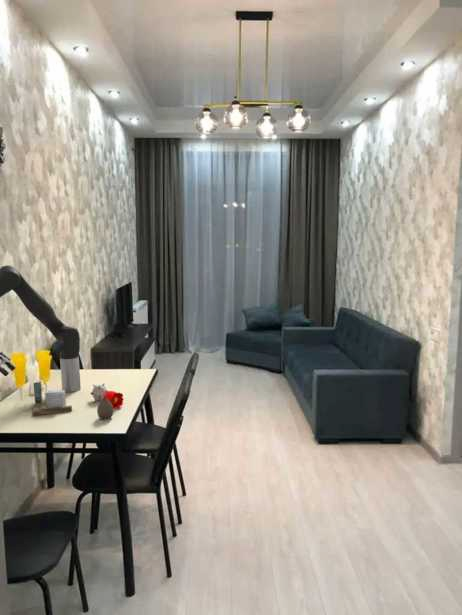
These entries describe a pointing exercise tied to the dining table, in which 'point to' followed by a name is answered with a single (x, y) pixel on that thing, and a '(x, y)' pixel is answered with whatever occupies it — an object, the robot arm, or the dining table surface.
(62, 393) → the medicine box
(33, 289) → the robot arm
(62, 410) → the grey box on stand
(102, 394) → the grey spiky ball
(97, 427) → the dining table surface
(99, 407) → the grey rounded lump
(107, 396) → the flower
